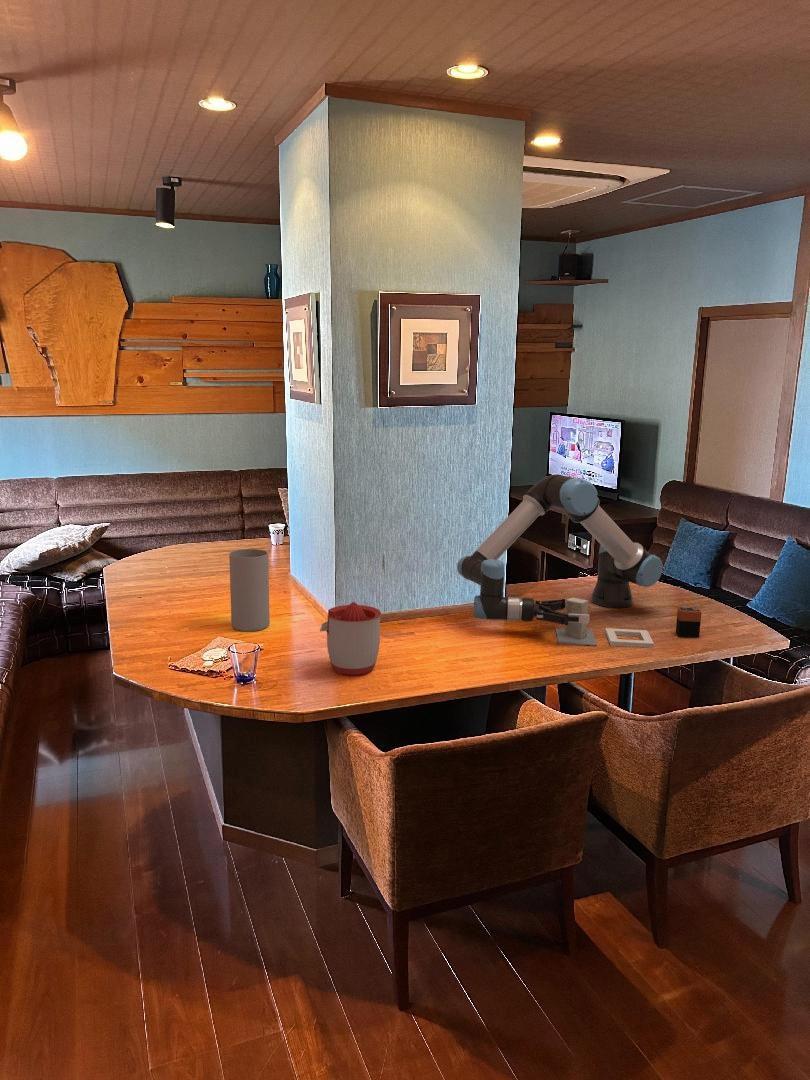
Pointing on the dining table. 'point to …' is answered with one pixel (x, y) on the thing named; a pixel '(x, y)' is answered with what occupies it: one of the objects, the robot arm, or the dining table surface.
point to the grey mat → (575, 641)
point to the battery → (688, 622)
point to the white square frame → (644, 641)
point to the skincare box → (576, 608)
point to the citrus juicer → (353, 638)
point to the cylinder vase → (249, 589)
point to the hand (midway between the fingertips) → (587, 612)
